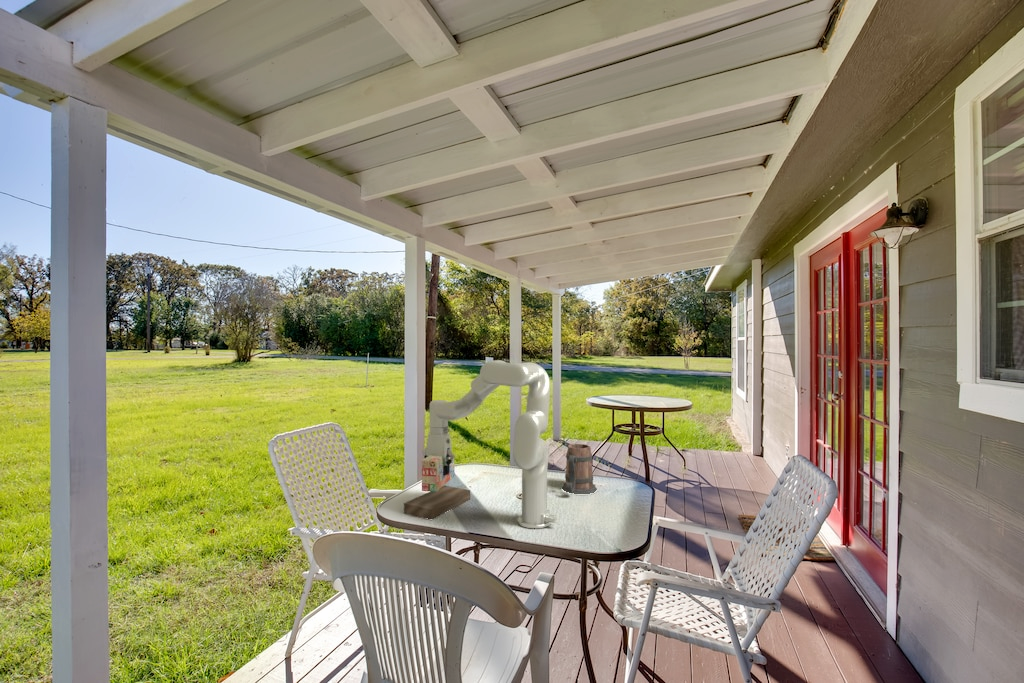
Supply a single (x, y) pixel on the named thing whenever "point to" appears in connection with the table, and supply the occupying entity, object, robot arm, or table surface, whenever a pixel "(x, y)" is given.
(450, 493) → the plinth
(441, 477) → the stack of blocks
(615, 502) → the table surface
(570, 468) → the tankard
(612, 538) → the table surface
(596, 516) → the table surface
